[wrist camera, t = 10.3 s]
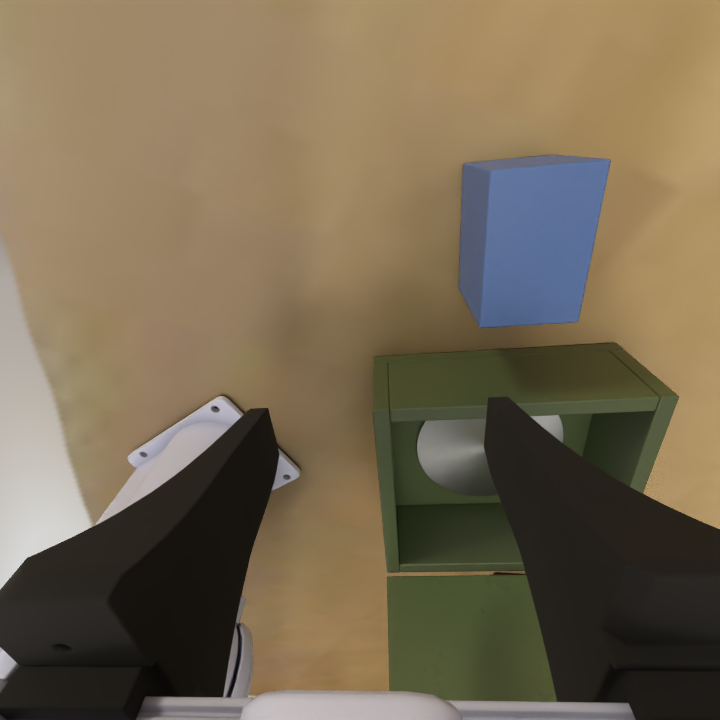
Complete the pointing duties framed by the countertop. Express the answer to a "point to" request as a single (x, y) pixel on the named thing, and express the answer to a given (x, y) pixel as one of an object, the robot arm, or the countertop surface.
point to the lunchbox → (469, 401)
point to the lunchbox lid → (467, 639)
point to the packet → (528, 237)
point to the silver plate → (464, 453)
